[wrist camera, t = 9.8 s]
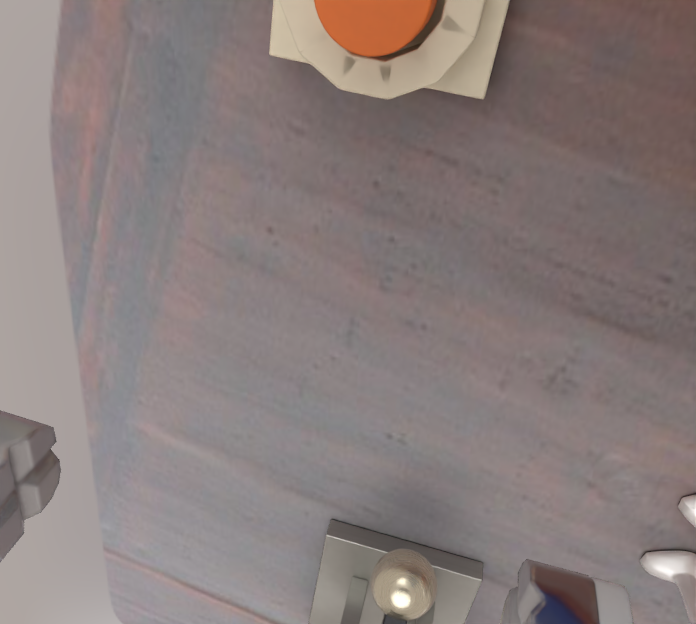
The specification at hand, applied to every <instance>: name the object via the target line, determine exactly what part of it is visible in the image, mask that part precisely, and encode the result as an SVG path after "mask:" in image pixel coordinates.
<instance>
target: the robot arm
mask: <svg viewBox="0 0 696 624" xmlns="http://www.w3.org/2000/svg"><path fill="white" fill-rule="evenodd" d="M55 442H56V437H55V432H54V428H53V427H51V426H48V425H45V424H42V423H39V422H36V421H32V420H29V419H26V418H23V417H19V416H16V415H13V414H10V413H7V412H3V411H0V562H1V561H2V559H3V558H4V557H5V556H6V554H7V553H8V552H9V551H10V550H11V548H12V547H13V546H14V545H15V544H16V542H17V541H18V540H19V539H20V537H21V536H22V535H23V534H24V520H26V519H28V518H30V517H32V516H34V515H36V514H39V513H41V512H42V510H43V509H44V508H45V507H46V505H47V504H48V503H49V501H50V500H51V499H52V497H53V494H54V492H55V490H56V488H57V486H58V483H59V478H60V471H61V469H60V461H59V459H58V458H57V457H56V455H55V454H54V453H53V452H52V450H51V449H50V448H51V447H52V446H53V445H54V444H55ZM500 624H634V622H633V616H632V610H631V604H630V598H629V593H628V591H627V589H626V588H625V586H622V585H618V584H615V583H611V582H608V581H604V580H601V579H597V578H594V577H589V576H588V575H585V574H581V573H578V572H574V571H570V570H566V569H563V568H559V567H555V566H551V565H548V564H544V563H540V562H536V561H533V560H529V559H526V560H525V561H524V562H523V563H522V565H521V567H520V570H519V572H518V587H515V588H513V589H511V590H510V591H509V594H508V596H507V599H506V601H505V604H504V608H503V612H502V616H501V621H500Z"/></svg>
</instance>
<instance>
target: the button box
mask: <svg viewBox="0 0 696 624" xmlns="http://www.w3.org/2000/svg"><path fill="white" fill-rule="evenodd" d="M509 2H510V0H437V3H436V7H435V9H434V12H433V14H432V16H431V18H430V20H429V22H428V23H427V25H426V26H425V27H424V29H423V30H422V31H421V32H420V33H419V34H418V35H417V36H416V37H415V38H414V39H413V40H412V41H411V42H410V43H408V44H407V45H406V46H405V47H403V48H401V49H400V50H398V51H396V52H394V53H391V54H388V55H384V56H378V57H368V56H362V55H358V54H355V53H352V52H350V51H348V50H346V49H344V48H343V47H341V46H340V45H339V44H338V43H336V42H335V41H334V40H333V39H332V38H331V37H330V36H329V34H328V33H327V32H326V30H325V29H324V27H323V25H322V24H321V22H320V19H319V17H318V15H317V11H316V8H315V3H314V0H273V12H272V25H271V37H270V49H269V54H270V55H271V56H274V57H279V58H284V59H289V60H293V61H298V62H303V63H308V64H311V65H312V66H313V67H315V68H316V69H317V70H318V71H319V72H320V73H321V74H322V75H323V76H325V77H326V78H327V79H328V80H329V81H330V82H331V83H332V84H333V85H335V86H336V87H337V88H339V89H340V90H344V91H349V92H354V93H358V94H363V95H368V96H373V97H377V98H382V99H392V98H395V97H398V96H401V95H404V94H407V93H409V92H412V91H415V90H418V89H421V88H429V89H434V90H439V91H443V92H448V93H453V94H458V95H463V96H468V97H472V98H477V99H484V98H485V95H486V91H487V87H488V83H489V79H490V75H491V72H492V68H493V64H494V60H495V56H496V52H497V48H498V44H499V41H500V37H501V33H502V29H503V25H504V21H505V17H506V13H507V9H508V6H509Z"/></svg>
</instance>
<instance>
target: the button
mask: <svg viewBox="0 0 696 624" xmlns="http://www.w3.org/2000/svg"><path fill="white" fill-rule="evenodd" d="M314 3H315V8H316V11H317V15H318V17H319V19H320V22H321V24H322V25H323V27H324V29H325V30H326V32H327V33H328V34H329V36H330V37H331V38H332V39H333V40H334V41H335V42H336V43H338V44H339V45H340V46H341V47H343V48H344V49H346V50H348V51H350V52H352V53H355V54H358V55H362V56H368V57H378V56H384V55H388V54H391V53H394V52H396V51H398V50H400V49H401V48H403V47H405V46H406V45H407V44H408V43H410V42H411V41H412V40H413V39H414V38H415V37H416V36H417V35H418V34H419V33H420V32H421V31H422V30H423V29H424V27H425V26H426V25H427V23H428V22H429V20H430V18H431V16H432V14H433V12H434V9H435V7H436V3H437V0H314Z"/></svg>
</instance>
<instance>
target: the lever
mask: <svg viewBox="0 0 696 624" xmlns="http://www.w3.org/2000/svg"><path fill="white" fill-rule="evenodd" d="M437 586H438V584H437V577H436V574H435V571H434V569H433V567H432V565H431V564H430V562H429V561H428V560H427V559H426V558H425V557H424V556H423V555H421V554H420V553H418V552H416V551H414V550H410V549H395V550H392V551H390V552H388V553H386V554H385V555H384V556H382V557H381V558H380V559H379V561H378V562H377V563H376V565H375V567H374V569H373V572H372V575H371V592H372V596H373V598H374V601H375V603H376V604H377V606H378V607H379V609H380V610H381V611H382V612H383V613H384V616H383V620H382V624H407V622H408V621H411V620H415V619H417V618H419V617H421V616H423V615H424V614H425V613H426V612H428V610H429V609H430V608H431V606H432V605H433V603H434V601H435V598H436V595H437Z"/></svg>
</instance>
